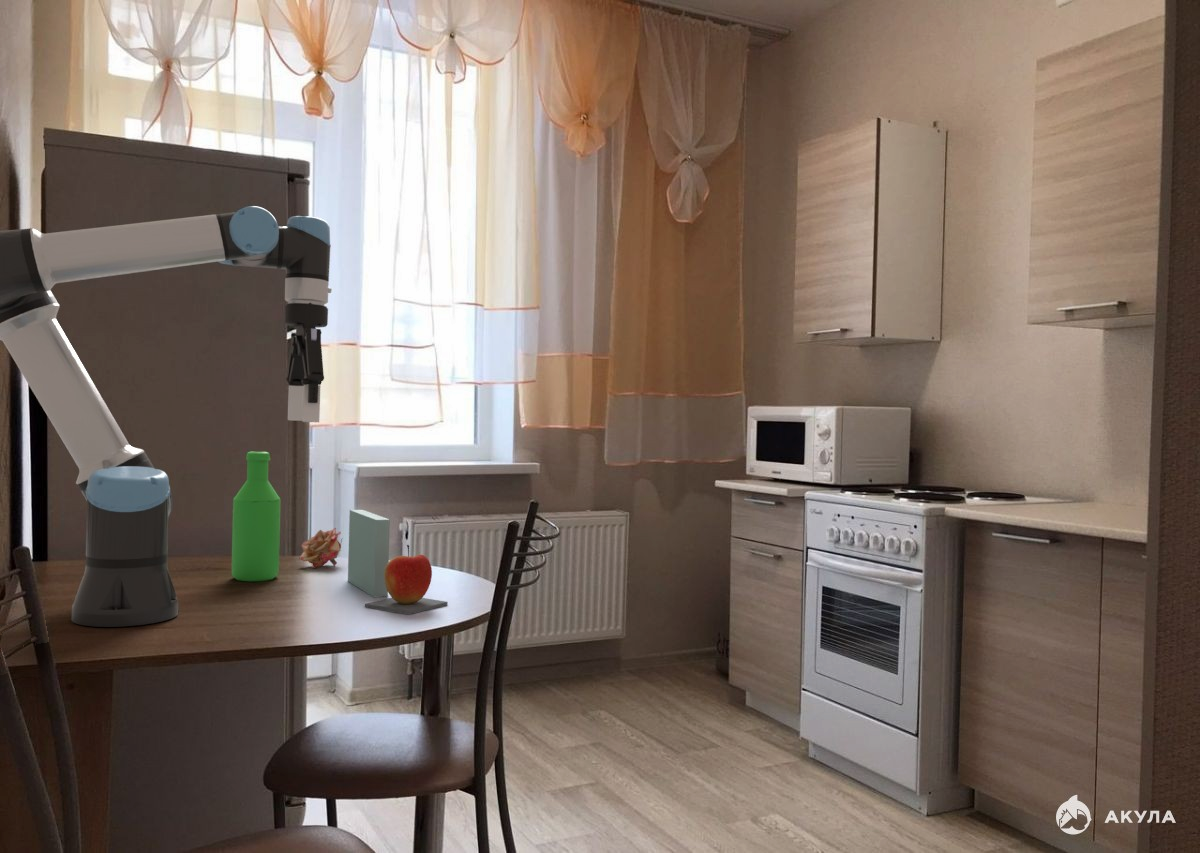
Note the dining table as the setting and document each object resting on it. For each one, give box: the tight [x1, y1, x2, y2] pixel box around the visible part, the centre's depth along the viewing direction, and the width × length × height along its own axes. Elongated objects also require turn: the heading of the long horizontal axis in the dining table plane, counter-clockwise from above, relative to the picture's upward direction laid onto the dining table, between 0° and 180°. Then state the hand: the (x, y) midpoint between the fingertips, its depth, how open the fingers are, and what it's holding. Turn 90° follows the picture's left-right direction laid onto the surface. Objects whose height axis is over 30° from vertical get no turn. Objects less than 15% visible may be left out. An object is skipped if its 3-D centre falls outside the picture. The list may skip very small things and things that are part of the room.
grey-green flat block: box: [347, 509, 391, 598], centre depth 184 cm, size 18×3×14 cm, turn 30°
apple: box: [385, 544, 433, 604], centre depth 168 cm, size 8×8×10 cm
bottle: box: [231, 450, 282, 582], centre depth 191 cm, size 9×9×25 cm
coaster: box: [364, 597, 448, 615], centre depth 168 cm, size 10×10×1 cm
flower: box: [299, 527, 344, 569], centre depth 207 cm, size 10×9×8 cm
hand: (302, 421), depth 176 cm, fingers open, 13 cm apart
